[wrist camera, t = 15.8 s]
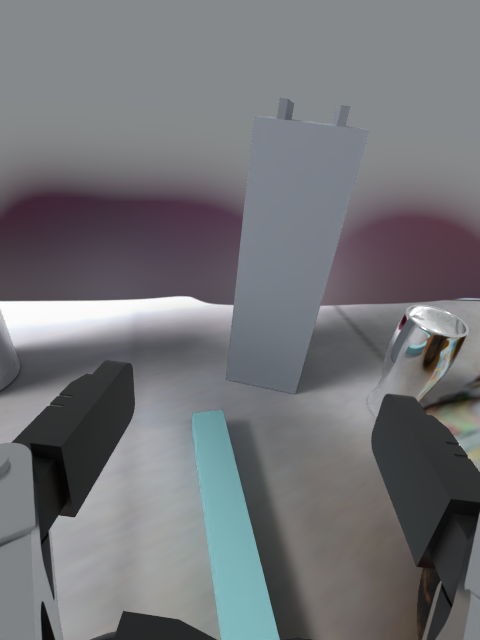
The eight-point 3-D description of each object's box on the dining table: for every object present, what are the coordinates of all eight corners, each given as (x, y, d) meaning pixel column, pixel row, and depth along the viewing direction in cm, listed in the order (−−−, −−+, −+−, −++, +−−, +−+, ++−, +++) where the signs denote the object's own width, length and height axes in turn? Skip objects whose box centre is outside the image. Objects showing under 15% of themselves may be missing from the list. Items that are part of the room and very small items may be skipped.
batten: (238, 768, 19) (245, 764, 17) (191, 432, 38) (192, 413, 36) (292, 745, 20) (304, 739, 18) (220, 428, 39) (222, 409, 37)
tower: (226, 379, 46) (256, 95, 27) (239, 339, 54) (269, 100, 36) (295, 394, 45) (375, 109, 26) (298, 351, 53) (360, 111, 35)
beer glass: (379, 384, 48) (420, 298, 40) (424, 414, 44) (480, 325, 36) (353, 404, 44) (393, 313, 36) (400, 439, 40) (457, 345, 32)
